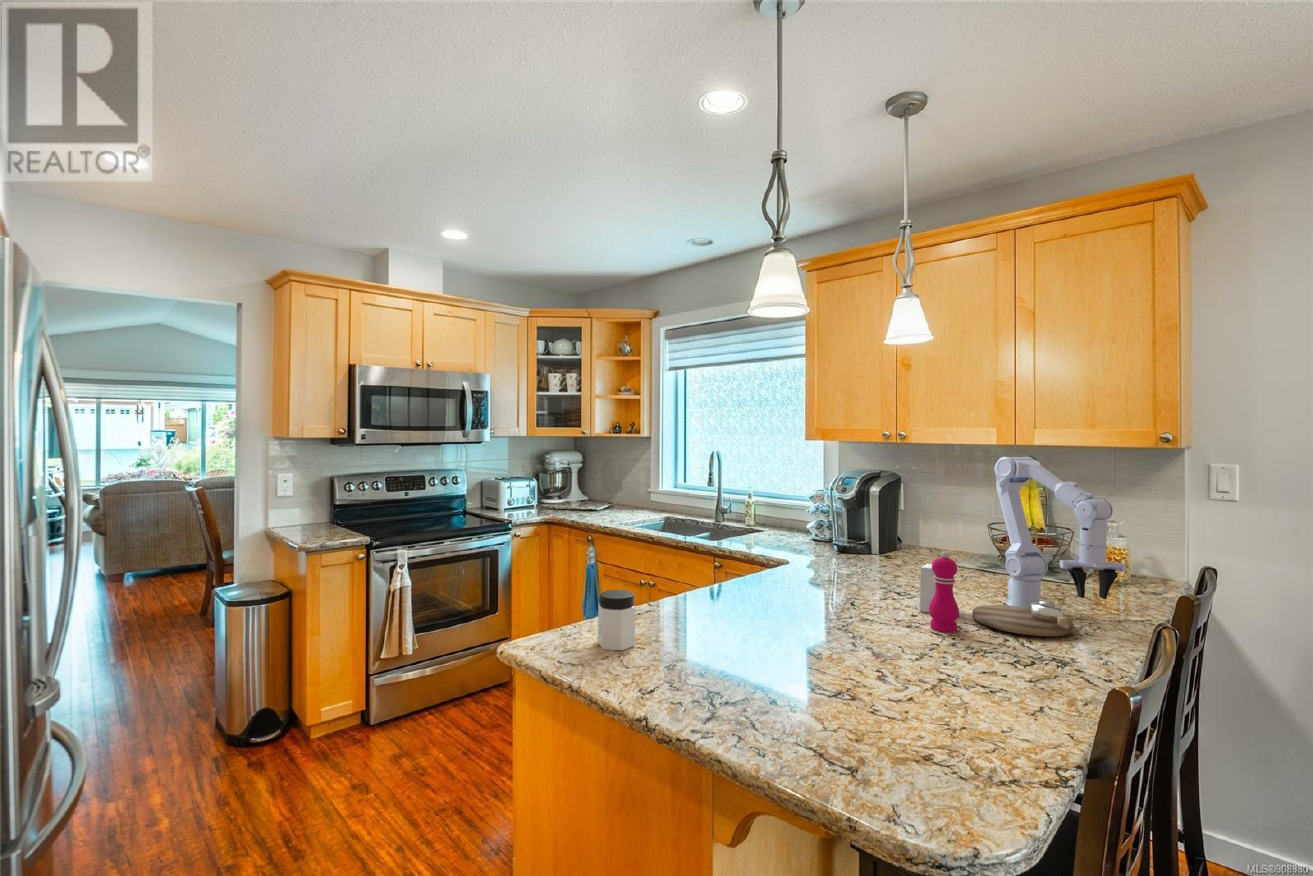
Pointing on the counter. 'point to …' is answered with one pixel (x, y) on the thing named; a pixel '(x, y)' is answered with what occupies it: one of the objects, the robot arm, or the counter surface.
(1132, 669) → the counter surface
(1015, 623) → the turntable top
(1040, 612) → the aluminium cover
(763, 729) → the counter surface
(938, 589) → the pepper mill
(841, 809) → the counter surface
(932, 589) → the supplement box
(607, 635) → the jar
